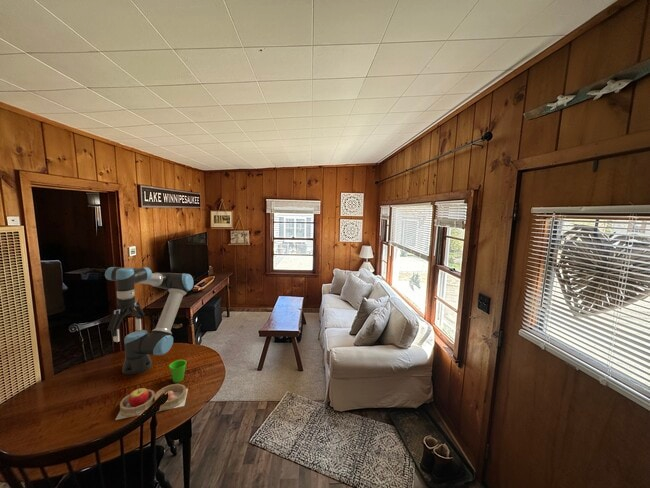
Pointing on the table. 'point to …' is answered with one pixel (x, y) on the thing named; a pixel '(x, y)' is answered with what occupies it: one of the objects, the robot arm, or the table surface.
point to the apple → (138, 397)
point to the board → (149, 399)
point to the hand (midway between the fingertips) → (128, 335)
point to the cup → (178, 370)
